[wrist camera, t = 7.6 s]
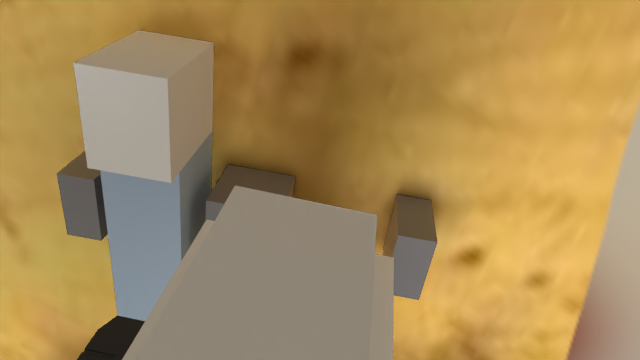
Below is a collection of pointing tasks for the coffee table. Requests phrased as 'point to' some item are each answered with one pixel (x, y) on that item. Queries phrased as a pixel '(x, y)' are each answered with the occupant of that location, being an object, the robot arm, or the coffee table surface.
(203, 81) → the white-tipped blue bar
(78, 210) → the grey blocks
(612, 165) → the coffee table surface
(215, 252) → the white-capped orange post
